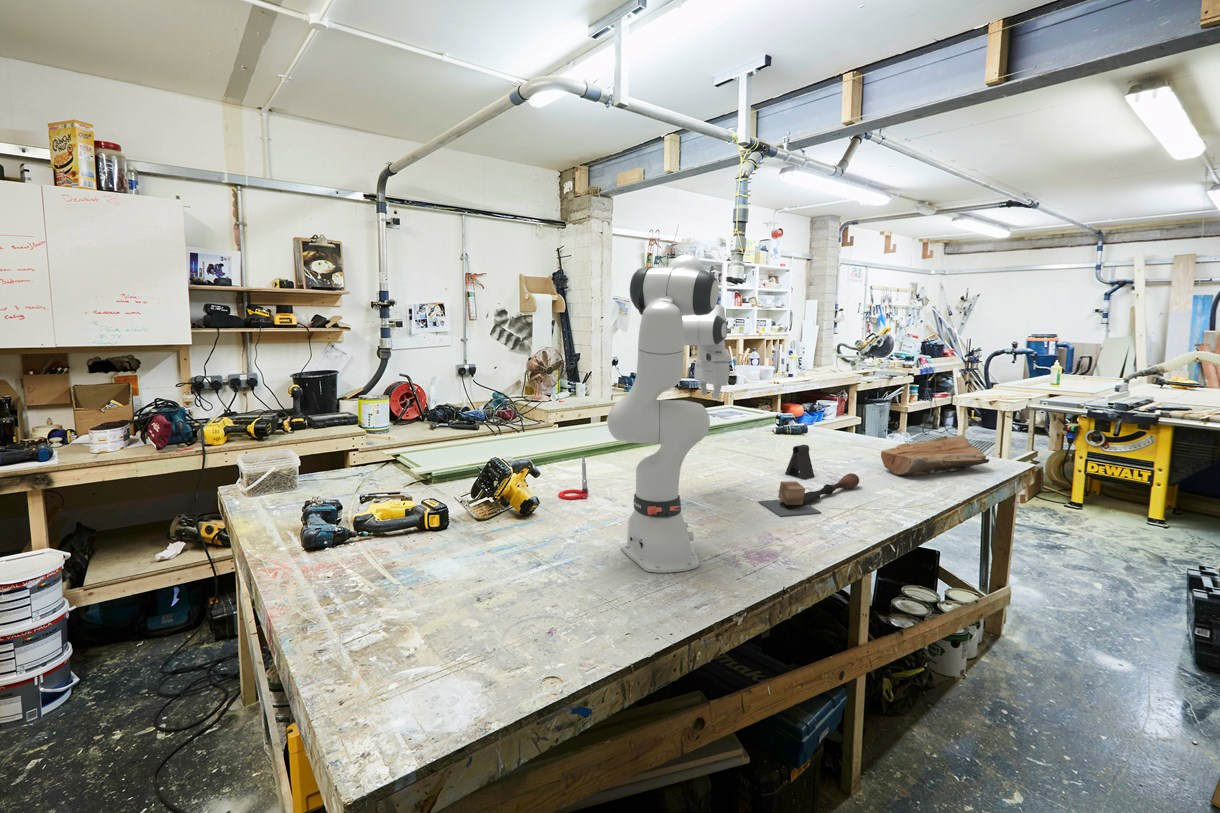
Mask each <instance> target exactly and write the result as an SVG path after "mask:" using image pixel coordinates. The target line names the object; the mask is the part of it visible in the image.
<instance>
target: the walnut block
mask: <svg viewBox="0 0 1220 813" xmlns="http://www.w3.org/2000/svg"><path fill="white" fill-rule="evenodd" d="M805 493H806V487H804V486H803V485H802V484H801V483H799V482H798V481H795V480H794V481H792V480H791V481H785V480H783V481H780V485H779V489H778V495H777V497H778V500H782V501H783V502H784V503H785V504H786V505H802V504H803V499H804V494H805Z"/></svg>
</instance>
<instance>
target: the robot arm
mask: <svg viewBox="0 0 1220 813" xmlns="http://www.w3.org/2000/svg"><path fill="white" fill-rule="evenodd" d="M629 297H630V300H631V302H632V304H633V306H634V307H635V309H636V310H638V313H639V314H640V316H641V319H640V324H639V331H638V339H637V340H638V341H637V342H638V343H637V344H638V345H637V346H638V347H637V362H636V364H637V365H636V374H635V378H634V382H633V383H632V386H631V388H630V389H629V390H628V392H627V394H626V395H624V396H623V397H622V398H621V399H620V400H618V401H617V402H616V403H614V404H613V405H612V406H611V407H610V409H609V412H608V415H607V420H606V422H607V428H608V431H609V433H610V434H611V436H612V437H613V438H614V439H615V440H616V441H617V440H618V441H621V442H626V443H631V444H659V445H660V447H659V449H658V450H657V451H656V452H654V453H652V454H651V455H649V456H647V457H644V458H643V459H641V460H640V462H638V463H637V466H636V469H635V493H634V495H633V509H634V510H633V512H632V514H631V515H630V516H629V517H628V520H627V531H626V532H627V533H626V542H625V543H622V544H621V546H620V550H621V551H622V553H624V554H625V555H626V556H628V557H629V558H630V559H631V560H632V561H633V562H635V564H637V565H638V566H639V567H640V568H642V569H643V570H644V571H646V572H648V573H657V574H658V573H659V574H661V573H664V574H665V573H666V574H667V573H677V572H684V571H685V572H686V571H691V570H693V569H694V570H695V569H697V568H698V567H700V560H699V558H698V556H697V553H696V551H695V549H694V547H693V544H692V542H693V541H694V539H695V536H694V535H695V534H694V532H693V531H688V529H687V528H688V526H689V523H688V521H685V519H684V517H683V513H682V501H681V496H680V494H679V490H680V488H679V487H680V486H679V485H680V476H681V468H682V464H683V462H684V459H685V458H686V456H687V455H688V453H689V452H690V451H691V450H692V448H693V447H694V446H695V445H696V444H698V443H700V442H701V441H702V440H704V438H705V437H706V436H707V434H708V432H709V430H710V425H711V420H710V415H709V412H708V410H707V409H706V408H705V406H704V405H703V404H702V403H698V402H695V401H689V400H686V399H685V400H682V399H679V400H677V399H675V400H671V399H670V400H669V399H667V400H666V399H665V400H664V399H658V398H659V396H660V395H662V394H663V393H665V392H667V391H669V390H671V389H673V388H674V387H676V386H677V385H678V384H679V383H680V382H681V381H682V378H683V375H684V372H683V371H684V357H685V356H684V355H685V352H684V351H685V346H697V353H696V357H697V359H696V360H695V363H694V371H693V372H694V373H693V374H694V375H693V376H694V381H695V380H696V381H698V382H699V387H700V395H702V396H707V395H708V388H707V384H710V385H713V392H712V393H711V397H712V399H713V400H717V399H719V398H720V393H721V390H722V387H724V386H725V387H726V386H727V385H728V383H729V379H730V363H729V362H731V360H732V357H731V354H730V353H729V352H728V351H727V350H726V342H725V339H726V338H727V334H728V323H727V321H726V313H725V307H724V306H723V305H721V304H720V303H719V304H717V302H718V301H719V300H718V299H719V298H720V286H719V282H718V279H717V278H716V277H715V275H714V273H711V272H709V271H707V270H706V267H705V266H704V265H703V263H702V262H701V261H700V259H699V258H698V257H696V256H695V255H692V254H681V255H678V256H677V257H675V258H673V259H672V260H671V261H670V263H669V265H668V266H665V267H664V266H663V267H652V266H646V267H642V268H638V269H637V270H636V271H635V272H634V273H633V275H632V276H631V280H630V283H629Z"/></svg>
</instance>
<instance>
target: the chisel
mask: <svg viewBox="0 0 1220 813" xmlns="http://www.w3.org/2000/svg"><path fill="white" fill-rule="evenodd" d="M859 483H860V477H859V476H858V475H857V474H855V473H852V472H851V473H847V474H845V475H844V476H843V477H841V478H840V480H839V481H837V483H835V484H827V483H826V484H824V485H823V488H820V489H818V490H814V491H808V492H805V494H804V499H803V504H802V505H804V504H809V503H812V502H814V501H817V500H819V499H821V496H822V495H829V496H830V495H832V494H833V493H834V491H836V490H838V489H852V488H856V487H857V486H859ZM779 505H781V506H784V507H786V508H789V509H794V508H796V507H799V506H802V505H786V504H785V503H784V502H781V503H780V504H779Z"/></svg>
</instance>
